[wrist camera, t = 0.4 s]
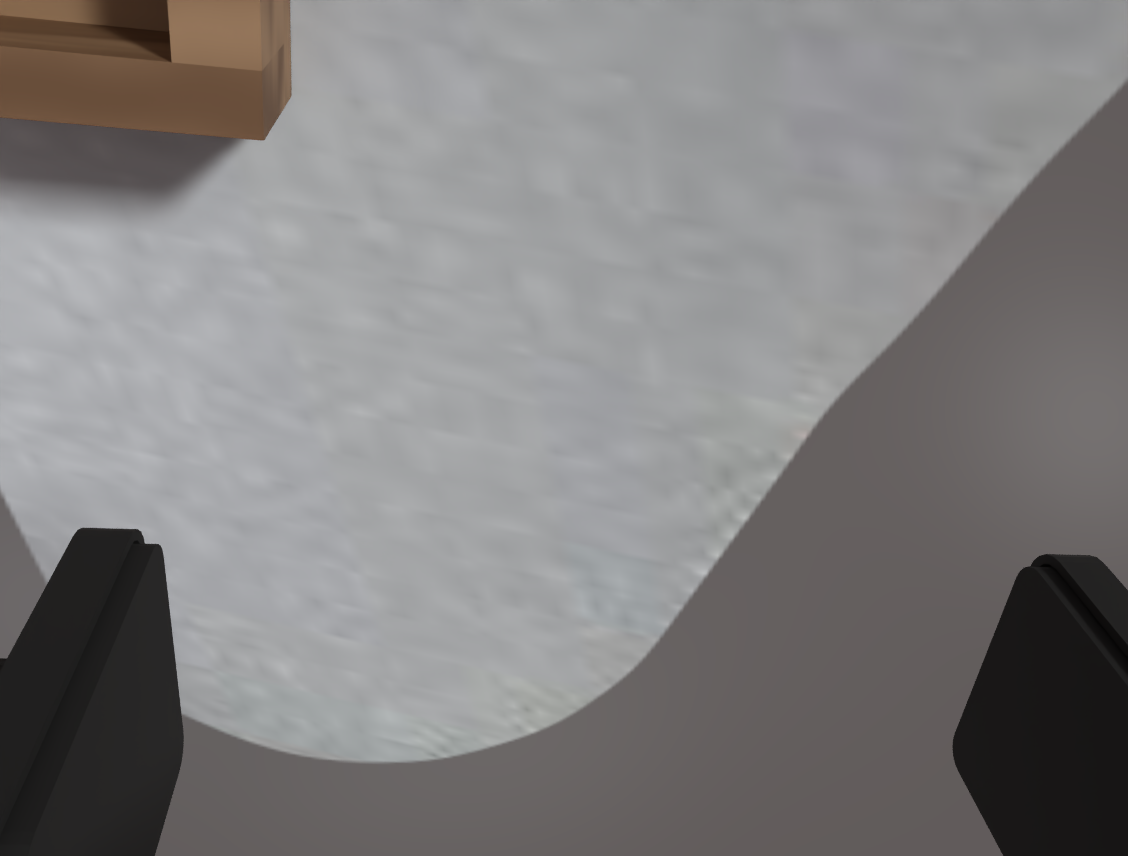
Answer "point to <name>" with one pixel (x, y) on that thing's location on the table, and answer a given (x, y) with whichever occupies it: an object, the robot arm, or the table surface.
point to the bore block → (147, 64)
